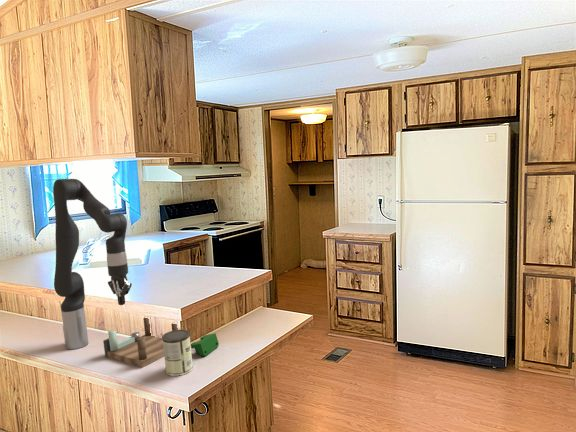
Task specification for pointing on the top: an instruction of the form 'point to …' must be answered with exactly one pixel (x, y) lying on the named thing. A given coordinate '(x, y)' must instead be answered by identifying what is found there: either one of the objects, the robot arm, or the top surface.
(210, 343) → the clamp
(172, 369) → the coffee can
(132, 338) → the swing leg
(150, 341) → the stool seat
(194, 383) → the top surface
